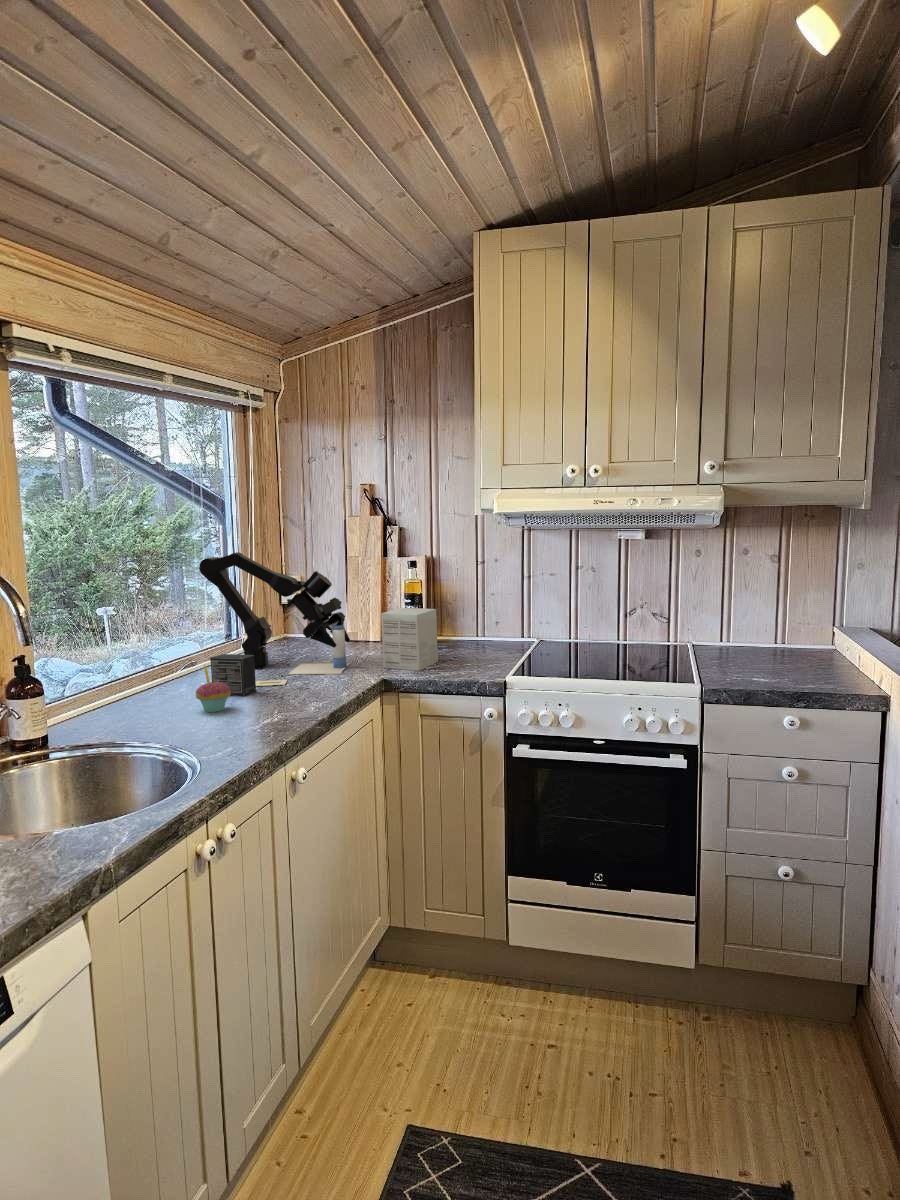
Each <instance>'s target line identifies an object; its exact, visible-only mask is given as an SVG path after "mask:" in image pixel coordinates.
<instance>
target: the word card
mask: <svg viewBox="0 0 900 1200" xmlns="http://www.w3.org/2000/svg"><path fill="white" fill-rule="evenodd" d="M255 681H256V686H268V687H273V686H272V685H285V684H287V682H288V679H275V680H255ZM285 686H286V685H285Z"/></svg>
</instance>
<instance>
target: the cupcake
mask: <svg viewBox="0 0 900 1200" xmlns="http://www.w3.org/2000/svg"><path fill="white" fill-rule="evenodd" d="M203 669H204V673H205V678H206V683H204V684H202V685H200V686H199V687H198V688H196V690H195V698H196V699H197V700H199V701H200V703H201V705H202V707H203V710H204V712H205V711H207V712H206V713H217V712H216V711H218V712H222V711H223V709H225V706H226V703H227V699H228V697H230V696H232V695H231V692H230V688H229V686H227V685H225V684H224V683H221V682H212V681H211V682H210V677H209V670H208V667H207V666H206V665H205V664H204V668H203ZM221 710H222V711H221Z"/></svg>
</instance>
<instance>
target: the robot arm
mask: <svg viewBox="0 0 900 1200" xmlns="http://www.w3.org/2000/svg"><path fill="white" fill-rule="evenodd" d="M232 567H237V568H238V569H240V570H242V571H244V572H246V573H247V574H250V575H252V576H253V577H255V578H257V579H259V580H261V581H262V582H265V583H266V584H267V585H269V587H270V588H271V589H272V590H273V591H274V592H276V593H277V594H279V595H280V596H281V597H284V598H287V597H290V596H292V595H294V596H293V597H292V598H291V599H290V598H288V599H286V600H287V601H286V602H287V603H286V608H294V607H295V608H296V609H297V610H298V611H299V612H300V613H301V614H302V615H303V617H302V619H303V621H306V620H308V622H309V623H308V624H307V625H306V626H305V627H304V628H303V629H302V635H303V636H304V637H305V638H306V639H310V640H314V641H317V642H319V643H322V644H324V645H326V646H328V647H332V648H333V647H334V648H335V647H336V646H337V645H336V643H335V642H334V640H333V638H332V636H331V635H330V634H329V633H331V634H332V626H334V625H344V626H345V624H344V623H345V620H346V615H345V614H344V613H343V612H341V611H338V612H335V611H337V610H341V609H342V601H341V600H340V599H339V598H337V597H332V598H330V599H329V601H328V602H326V603H325V604H323V603H318V602H317V601H316V600H315V599H316V598H318V599H319V598H321V597H322V596H324V594H325V593H326V592H328V590H329V589H330V588H331V587H332V586H333V583H332V582H331V580H330V579H329V578H328V577H327V576H324V575H323V574H321V573H320V572H318V570H315V571H314V572H312V574H311V576H309V578H308V579H307V580H306V581H303V580H302V581H300V580H297V578H295V577H293V576H291V575H287V574H285V573H279V572H276V571H273V570H271V569H270V568H268V567H266V566H264V565H262V564H261V563H259V562H258V561H255V560H253V559H251V558H249V557H247V556H246V555H244V554H243V553H242V552H233V553H231V554H228V555H225V556H221V557H216V556H212V557H207V558H204V559H202V560H201V561H200V563H199V566H198V570H199V573H201V575H202V576H203V577H204V578H205V579H206V580H207V581H209V582H210V583H211V584H212V585H214V586H216V588H217V589H218V591H220V593H221V594H222V596H223V597H224V598H225V600H226V602H227V603H228V605H230V607H231V608H232V610H233V611H234V613H235V614H236V616H238V618H239V619H240V621H241V623H242V625H243V628H244V629H243V630H244V633H245V634H246V637H247V638H246V639H245V640H244V641H243V642H242V643H241V648H242V650H243V655H254V663H255V670H256V669H258V670H259V669H261V670H263V669H264V668H266V667H267V666H269V652H268V651H267V647H266V646H267V642H268V641H269V640H270V639H271V638H272V635H273V634H272V633H273V630H272V629H271V628H272V625H270V624H269V622H268V621H267V618H265V616H262V617H259V616H258V615H256V614H255V613H254V612H253V610H252V608H251V607H250V606H249V604H248V603H247V602H246V600H245V599H244V598H243V596H242V594H241V593H240V592H239V590H238V589H237V588H236V586H235V585H234V583H233V582H232V581H231V580H230V579H231V578H230V577H229V572H228V570H227V569H229V568H232ZM301 590H302V591H301ZM299 591H301V592H299ZM333 612H334V613H333ZM327 630H329V632H328V631H327ZM344 632H345V643H346V642H347V643H349V642H350V641H351V638H350V637H349V635H348V632H347V630H346V628H345V627H344Z"/></svg>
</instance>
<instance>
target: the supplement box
mask: <svg viewBox="0 0 900 1200" xmlns="http://www.w3.org/2000/svg"><path fill="white" fill-rule="evenodd" d="M380 617H381V640H382V641H381V644H382V645H381V646H382V667H383V669H393V670H394V669H395V670H405V671H406V670H408V671H417V672H418V671H422V670H424V669H426V668H429V667H431V666H433V665H435V664H437V663H438V662H439V657H438V656H439V655H438V653H439V652H438V651H439V650H438V627H437V626H438V624H437V623H438V622H437V609H436V608H421V607H419V608H417V607H414V608H413V607H399V608H396V609H391V610H389V611H385V612H381V615H380ZM436 662H437V663H436ZM434 663H435V664H434ZM432 664H433V665H432ZM430 665H431V666H430ZM428 666H429V667H428Z"/></svg>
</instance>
